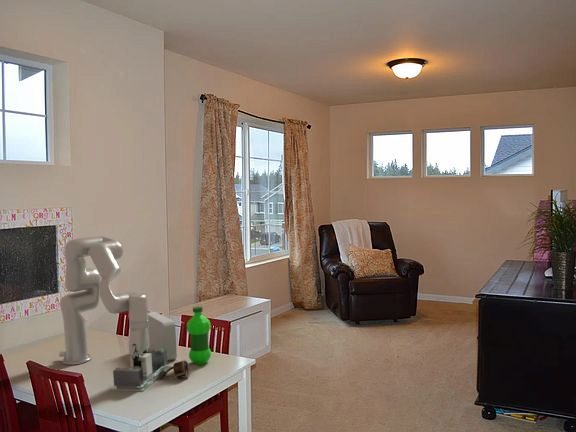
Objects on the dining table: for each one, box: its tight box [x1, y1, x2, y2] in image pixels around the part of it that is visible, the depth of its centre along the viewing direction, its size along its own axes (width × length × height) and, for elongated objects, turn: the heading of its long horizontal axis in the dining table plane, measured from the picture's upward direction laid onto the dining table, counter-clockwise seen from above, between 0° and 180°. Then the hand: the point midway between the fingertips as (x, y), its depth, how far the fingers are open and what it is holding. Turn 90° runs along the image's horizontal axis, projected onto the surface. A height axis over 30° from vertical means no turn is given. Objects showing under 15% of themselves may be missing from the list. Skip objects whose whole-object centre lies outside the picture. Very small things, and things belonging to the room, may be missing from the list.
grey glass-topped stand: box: [109, 348, 172, 392], centre depth 220 cm, size 14×27×9 cm, turn 169°
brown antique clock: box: [158, 359, 191, 380], centre depth 220 cm, size 7×13×10 cm
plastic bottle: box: [186, 305, 212, 366], centre depth 236 cm, size 10×10×25 cm
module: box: [129, 353, 152, 376], centre depth 220 cm, size 7×5×8 cm
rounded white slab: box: [148, 311, 178, 362], centre depth 253 cm, size 29×8×18 cm, turn 33°
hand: (141, 366), depth 220 cm, fingers open, 6 cm apart
